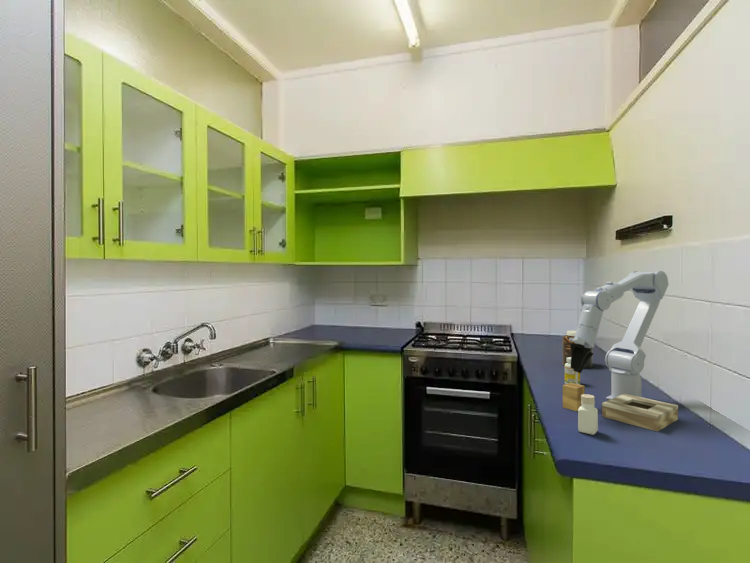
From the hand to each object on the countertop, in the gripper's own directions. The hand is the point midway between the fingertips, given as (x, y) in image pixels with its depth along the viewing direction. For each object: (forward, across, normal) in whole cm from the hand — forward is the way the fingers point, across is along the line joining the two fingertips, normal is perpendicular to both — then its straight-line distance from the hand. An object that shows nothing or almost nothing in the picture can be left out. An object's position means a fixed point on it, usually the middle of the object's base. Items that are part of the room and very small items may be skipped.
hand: (575, 370), depth 124 cm
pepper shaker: (+16, +12, +8) cm, 22 cm away
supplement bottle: (+3, -32, -4) cm, 32 cm away
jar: (-7, -63, -7) cm, 63 cm away
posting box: (+7, -4, +18) cm, 20 cm away
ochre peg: (+11, -5, +2) cm, 12 cm away
